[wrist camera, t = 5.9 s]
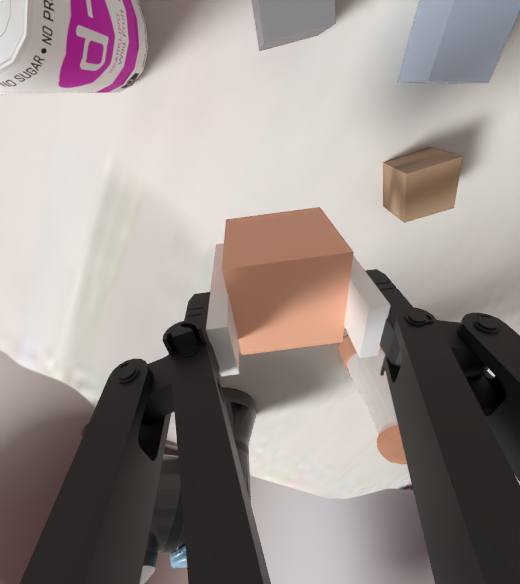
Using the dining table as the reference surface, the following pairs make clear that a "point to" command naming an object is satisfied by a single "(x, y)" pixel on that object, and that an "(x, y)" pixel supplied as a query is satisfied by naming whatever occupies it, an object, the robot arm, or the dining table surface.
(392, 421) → the pepper shaker
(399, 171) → the walnut cube
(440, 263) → the dining table surface
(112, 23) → the supplement can
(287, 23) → the charcoal cube
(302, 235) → the terracotta cube
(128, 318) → the dining table surface
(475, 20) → the slate blue cube
